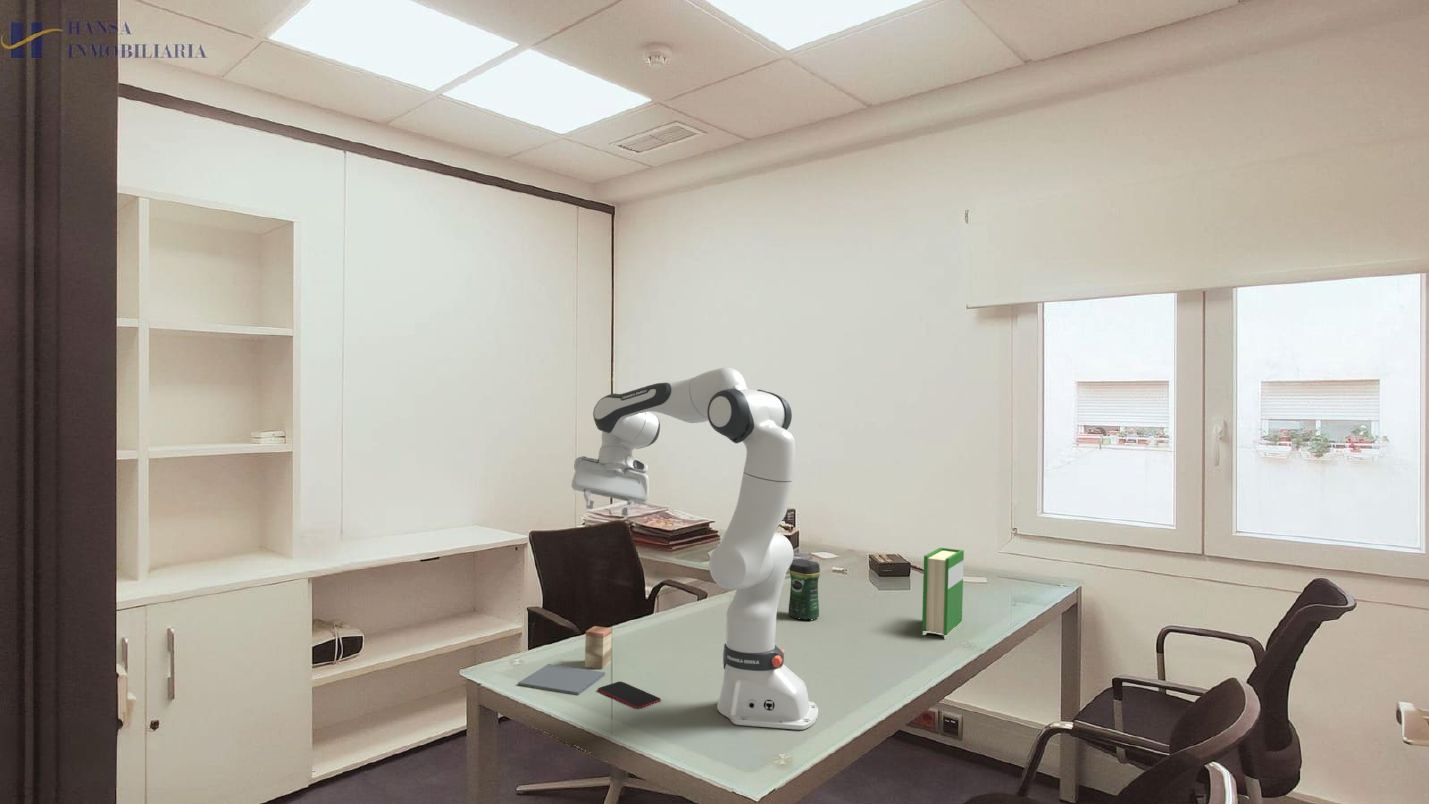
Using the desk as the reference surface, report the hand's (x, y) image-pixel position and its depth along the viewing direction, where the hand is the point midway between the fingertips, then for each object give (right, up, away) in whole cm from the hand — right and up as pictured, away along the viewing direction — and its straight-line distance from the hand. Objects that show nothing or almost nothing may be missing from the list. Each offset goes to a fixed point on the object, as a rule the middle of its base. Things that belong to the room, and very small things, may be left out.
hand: (607, 511), depth 194 cm
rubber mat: (-9, -39, -10) cm, 42 cm away
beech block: (-3, -40, +1) cm, 40 cm away
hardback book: (+98, -43, +40) cm, 115 cm away
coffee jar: (+56, -42, +51) cm, 87 cm away
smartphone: (+8, -41, -19) cm, 45 cm away
